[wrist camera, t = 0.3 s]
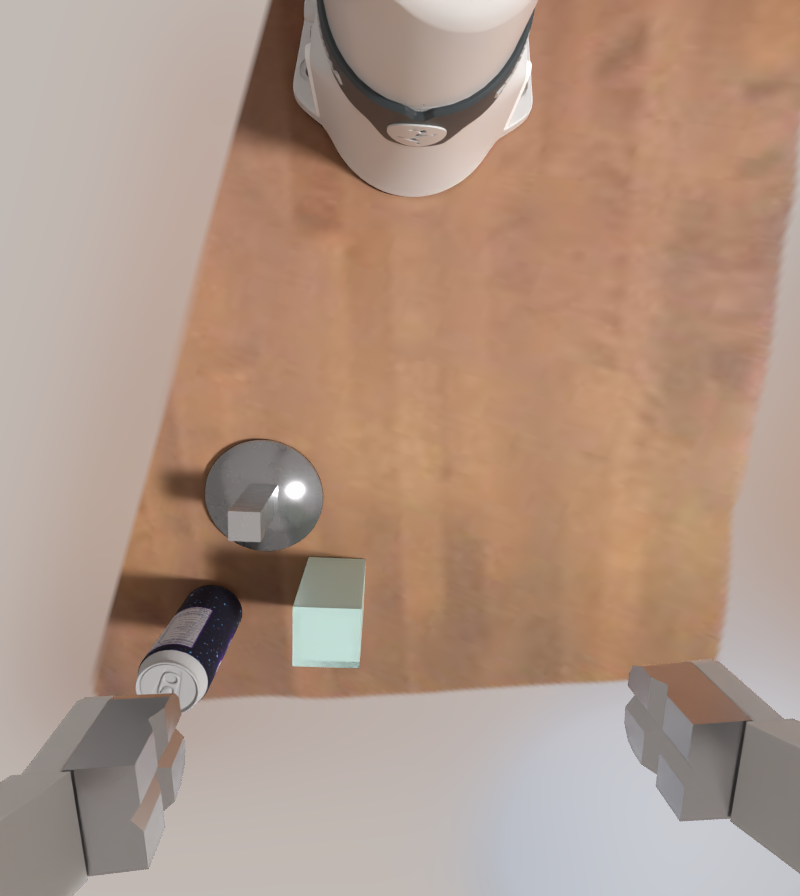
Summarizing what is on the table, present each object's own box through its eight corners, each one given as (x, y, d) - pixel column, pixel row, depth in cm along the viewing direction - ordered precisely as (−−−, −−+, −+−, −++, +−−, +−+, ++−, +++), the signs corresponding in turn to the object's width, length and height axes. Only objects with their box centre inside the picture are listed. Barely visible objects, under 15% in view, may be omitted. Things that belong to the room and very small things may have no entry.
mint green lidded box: (308, 556, 51) (292, 606, 42) (365, 559, 51) (361, 609, 42) (308, 607, 52) (292, 666, 43) (363, 609, 52) (359, 668, 43)
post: (204, 436, 47) (171, 458, 40) (324, 442, 48) (313, 464, 40) (208, 546, 50) (178, 585, 43) (322, 550, 50) (311, 590, 43)
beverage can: (181, 621, 52) (122, 708, 40) (196, 573, 51) (140, 649, 39) (235, 637, 53) (193, 728, 41) (251, 590, 51) (212, 670, 40)
